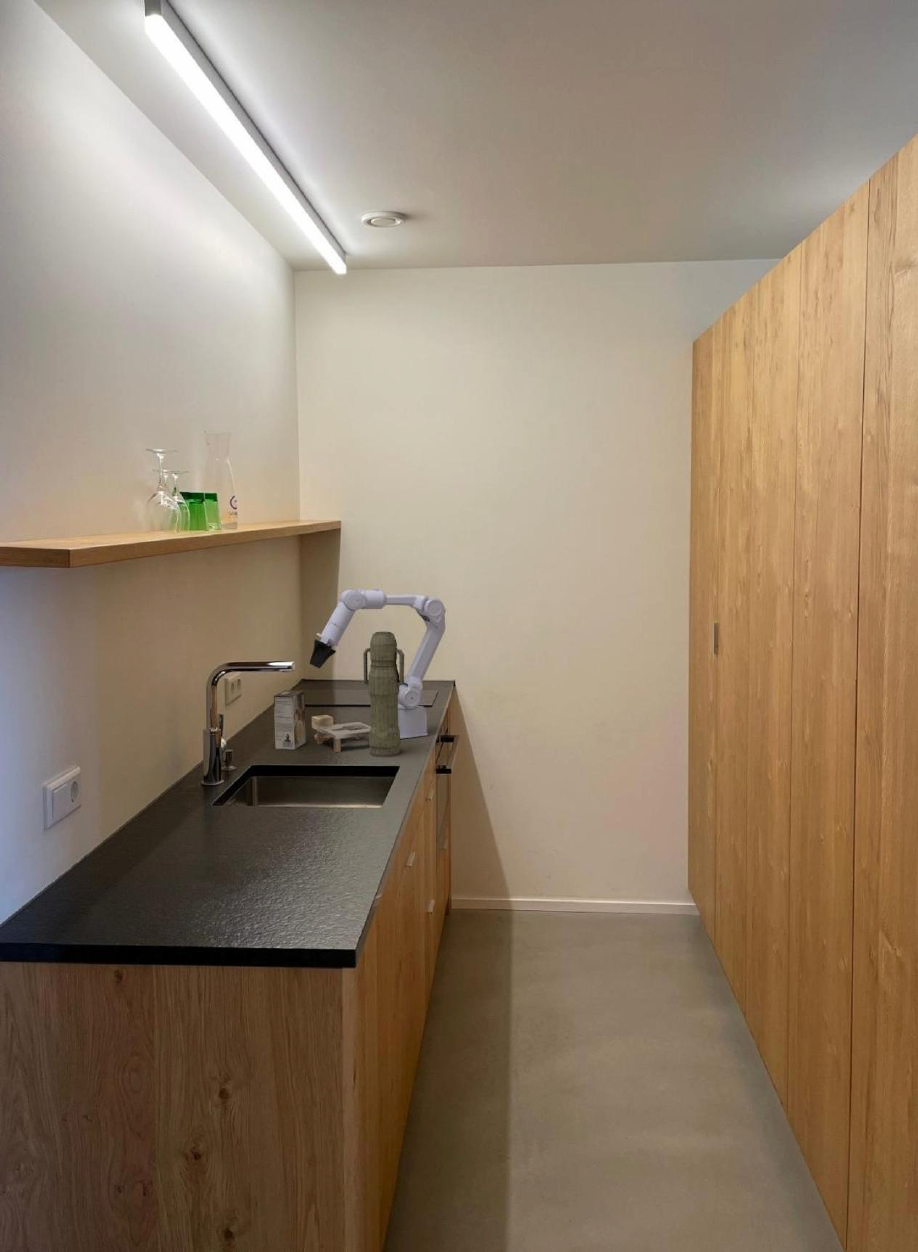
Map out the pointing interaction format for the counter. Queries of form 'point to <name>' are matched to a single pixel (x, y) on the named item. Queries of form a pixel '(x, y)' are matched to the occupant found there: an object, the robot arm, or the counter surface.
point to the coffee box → (289, 719)
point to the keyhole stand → (342, 732)
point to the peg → (322, 723)
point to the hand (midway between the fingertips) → (314, 666)
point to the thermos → (384, 693)
